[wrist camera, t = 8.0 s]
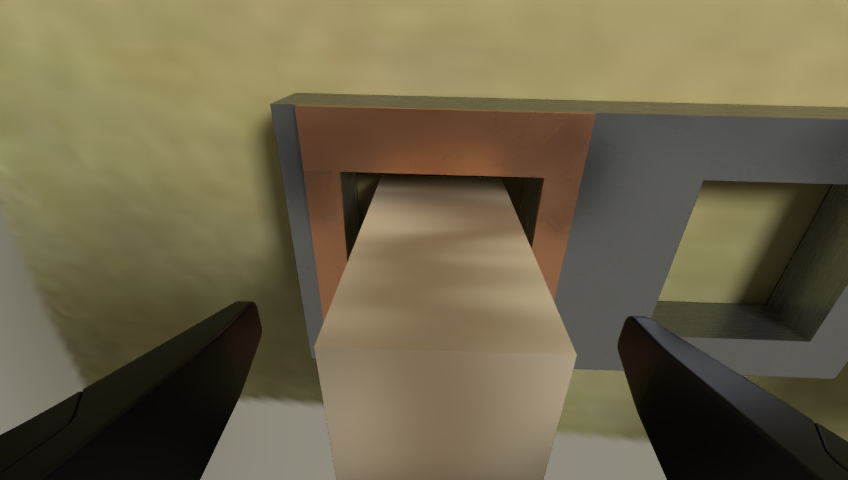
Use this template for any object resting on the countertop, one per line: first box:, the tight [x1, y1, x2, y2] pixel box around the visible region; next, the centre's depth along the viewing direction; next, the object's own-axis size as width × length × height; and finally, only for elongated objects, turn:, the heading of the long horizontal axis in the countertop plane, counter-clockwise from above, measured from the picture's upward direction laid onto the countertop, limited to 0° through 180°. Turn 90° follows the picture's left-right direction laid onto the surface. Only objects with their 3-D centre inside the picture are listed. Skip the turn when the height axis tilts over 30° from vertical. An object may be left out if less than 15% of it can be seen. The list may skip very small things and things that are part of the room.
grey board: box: [270, 93, 848, 379], centre depth 13 cm, size 19×9×2 cm, turn 89°
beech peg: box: [314, 176, 577, 480], centre depth 10 cm, size 4×4×8 cm
